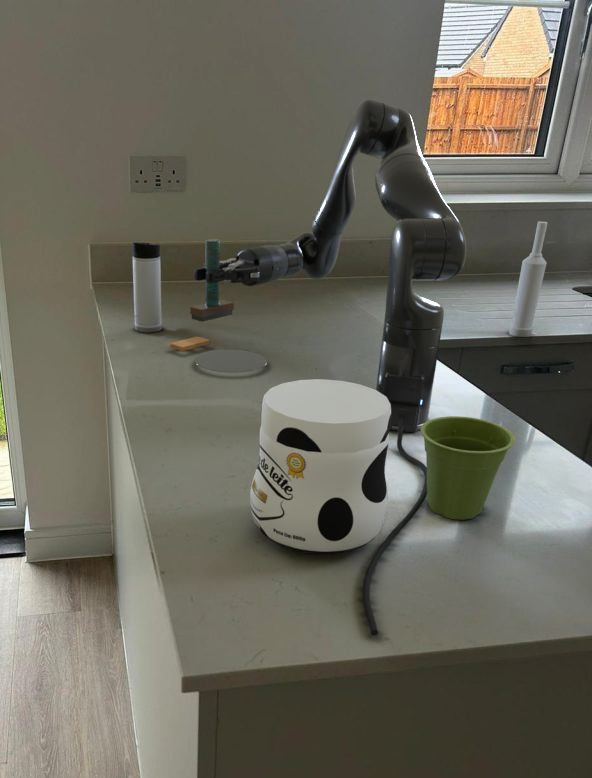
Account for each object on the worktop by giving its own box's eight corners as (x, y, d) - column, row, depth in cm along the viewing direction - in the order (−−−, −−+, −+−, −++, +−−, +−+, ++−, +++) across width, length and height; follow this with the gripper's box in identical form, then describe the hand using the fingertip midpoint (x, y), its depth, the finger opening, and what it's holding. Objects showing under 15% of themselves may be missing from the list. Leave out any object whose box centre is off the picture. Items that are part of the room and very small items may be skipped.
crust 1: (182, 356, 167) (182, 347, 166) (170, 352, 169) (169, 343, 168) (196, 352, 169) (196, 343, 168) (183, 348, 172) (183, 339, 171)
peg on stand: (221, 311, 164) (222, 236, 157) (233, 314, 162) (235, 238, 155) (190, 318, 159) (189, 241, 152) (201, 322, 156) (201, 244, 149)
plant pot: (393, 496, 111) (403, 422, 105) (462, 484, 114) (476, 411, 109) (443, 536, 101) (457, 457, 95) (517, 521, 105) (535, 443, 99)
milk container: (222, 535, 100) (225, 403, 92) (294, 488, 112) (303, 367, 104) (340, 582, 91) (356, 440, 83) (406, 525, 103) (425, 396, 95)
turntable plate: (257, 381, 153) (257, 375, 152) (184, 373, 157) (184, 367, 156) (274, 359, 166) (274, 353, 165) (206, 352, 170) (206, 346, 169)
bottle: (533, 338, 182) (557, 224, 170) (509, 336, 182) (532, 223, 170) (529, 332, 186) (553, 221, 174) (506, 330, 187) (528, 220, 175)
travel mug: (129, 330, 183) (125, 241, 174) (144, 324, 189) (141, 237, 179) (152, 334, 181) (149, 244, 171) (166, 327, 186) (165, 240, 176)
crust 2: (196, 352, 169) (196, 343, 168) (184, 348, 172) (184, 339, 171) (209, 349, 172) (210, 340, 171) (197, 345, 174) (197, 336, 173)
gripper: (238, 242, 168) (178, 251, 157) (287, 251, 159) (226, 262, 148) (238, 277, 171) (178, 289, 161) (285, 288, 162) (226, 301, 152)
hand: (202, 276), depth 155 cm, fingers closed on peg on stand, 3 cm apart
